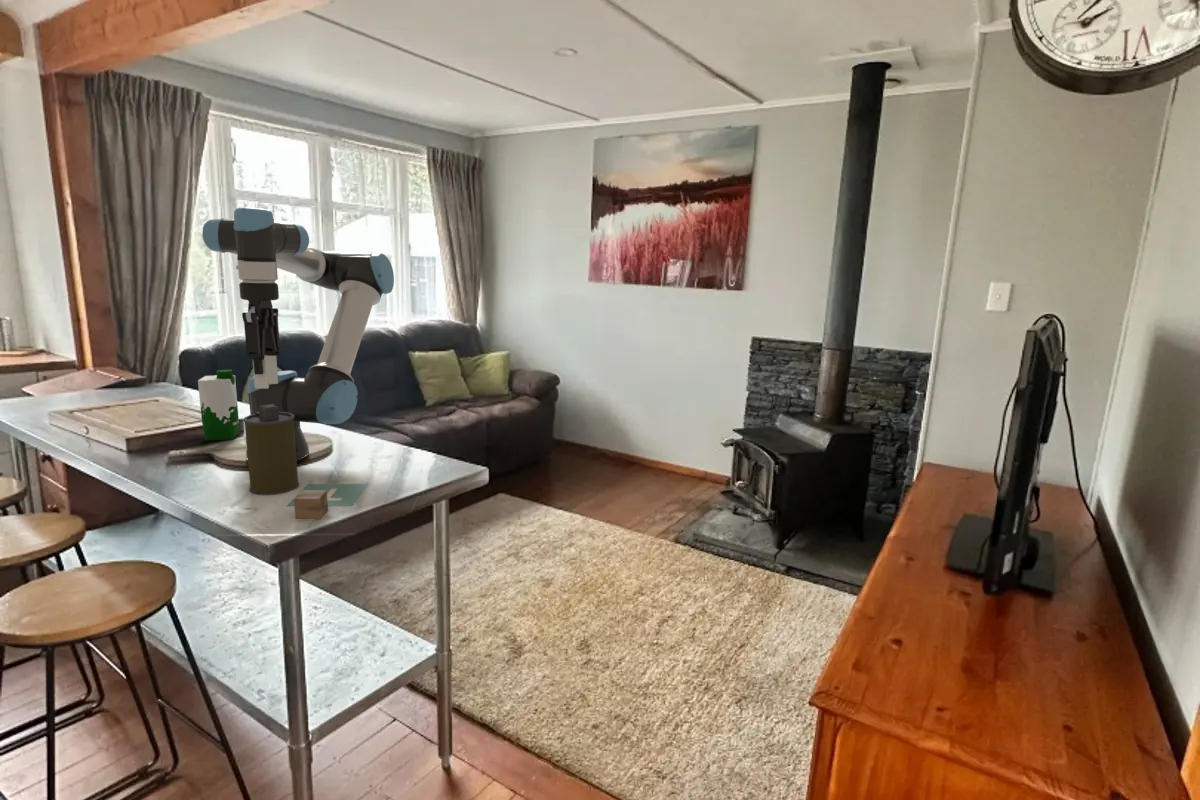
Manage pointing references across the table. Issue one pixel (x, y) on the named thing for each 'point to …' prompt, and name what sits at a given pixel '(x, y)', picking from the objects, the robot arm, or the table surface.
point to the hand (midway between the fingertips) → (266, 385)
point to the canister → (271, 451)
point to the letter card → (338, 493)
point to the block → (311, 504)
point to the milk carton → (219, 406)
